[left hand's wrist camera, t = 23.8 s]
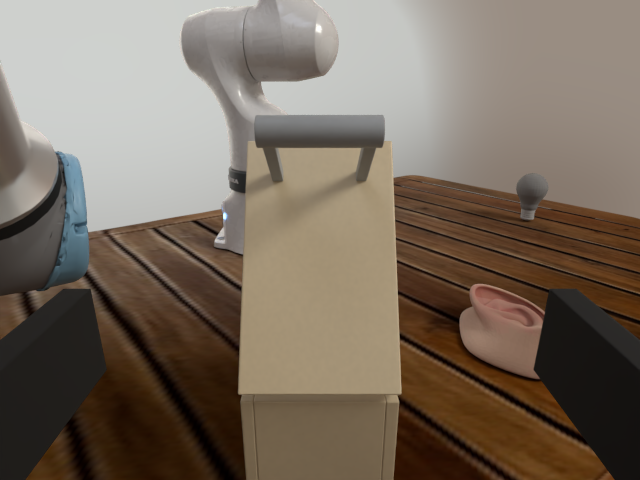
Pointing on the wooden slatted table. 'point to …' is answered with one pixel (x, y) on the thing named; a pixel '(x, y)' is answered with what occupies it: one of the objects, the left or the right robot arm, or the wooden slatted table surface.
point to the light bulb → (531, 193)
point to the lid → (319, 259)
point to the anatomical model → (502, 329)
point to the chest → (319, 436)
